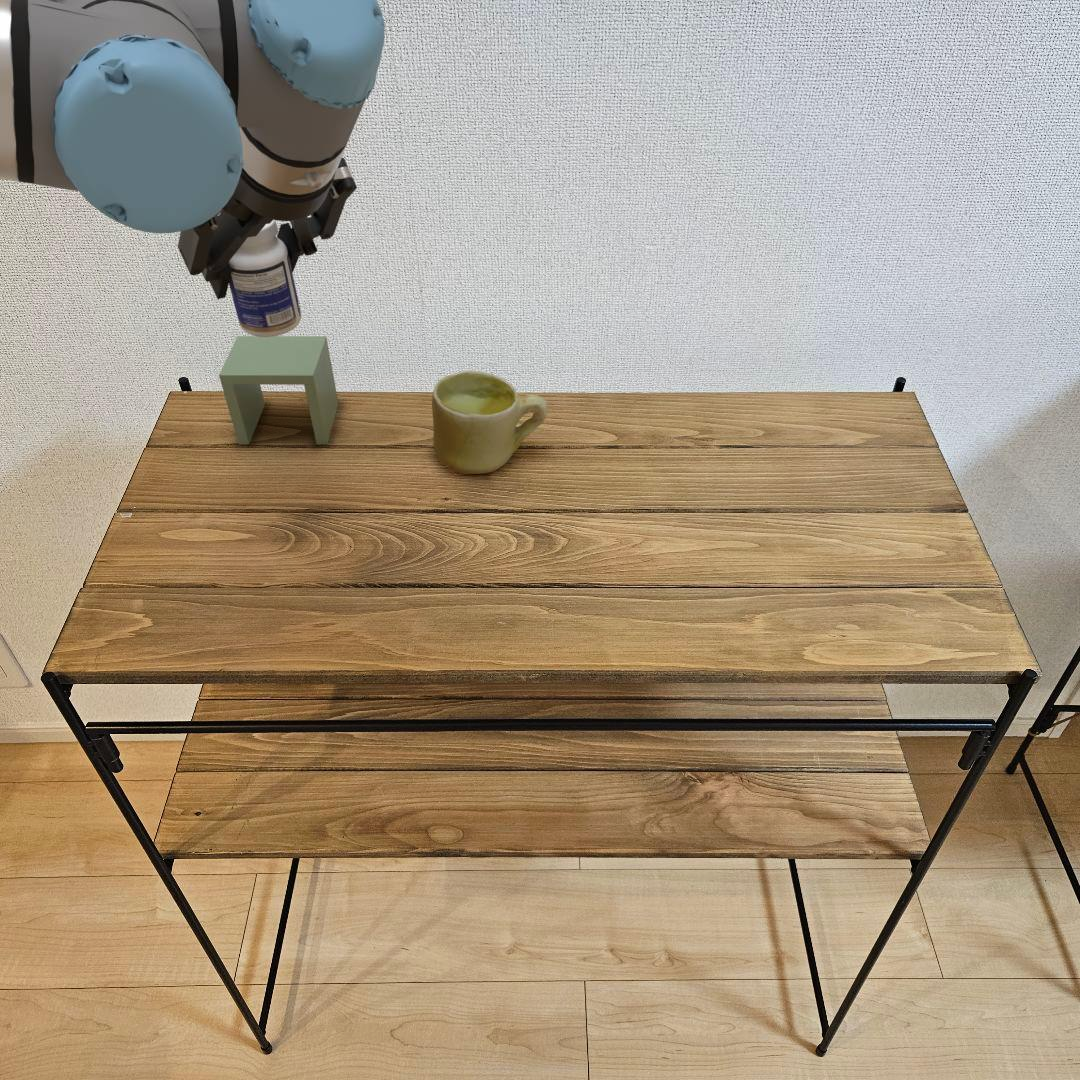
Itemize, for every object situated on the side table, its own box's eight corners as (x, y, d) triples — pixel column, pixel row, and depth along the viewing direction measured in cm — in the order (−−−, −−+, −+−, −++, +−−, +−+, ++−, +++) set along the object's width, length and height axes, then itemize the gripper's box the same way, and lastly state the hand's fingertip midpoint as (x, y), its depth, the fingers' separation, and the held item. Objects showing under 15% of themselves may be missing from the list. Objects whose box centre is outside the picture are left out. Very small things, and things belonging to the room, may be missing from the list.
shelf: (238, 444, 100) (218, 375, 94) (255, 403, 106) (237, 335, 100) (327, 445, 100) (313, 375, 94) (338, 404, 106) (326, 336, 100)
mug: (410, 470, 94) (428, 380, 89) (432, 439, 103) (449, 356, 99) (522, 500, 94) (545, 413, 89) (533, 467, 103) (555, 386, 99)
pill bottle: (252, 306, 86) (228, 205, 79) (310, 310, 85) (290, 208, 79) (230, 337, 82) (203, 232, 75) (290, 341, 81) (268, 236, 74)
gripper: (175, 230, 59) (166, 342, 80) (422, 169, 67) (355, 285, 88) (126, 123, 58) (130, 264, 79) (381, 75, 66) (323, 214, 87)
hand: (248, 275), depth 83 cm, fingers closed on pill bottle, 6 cm apart
